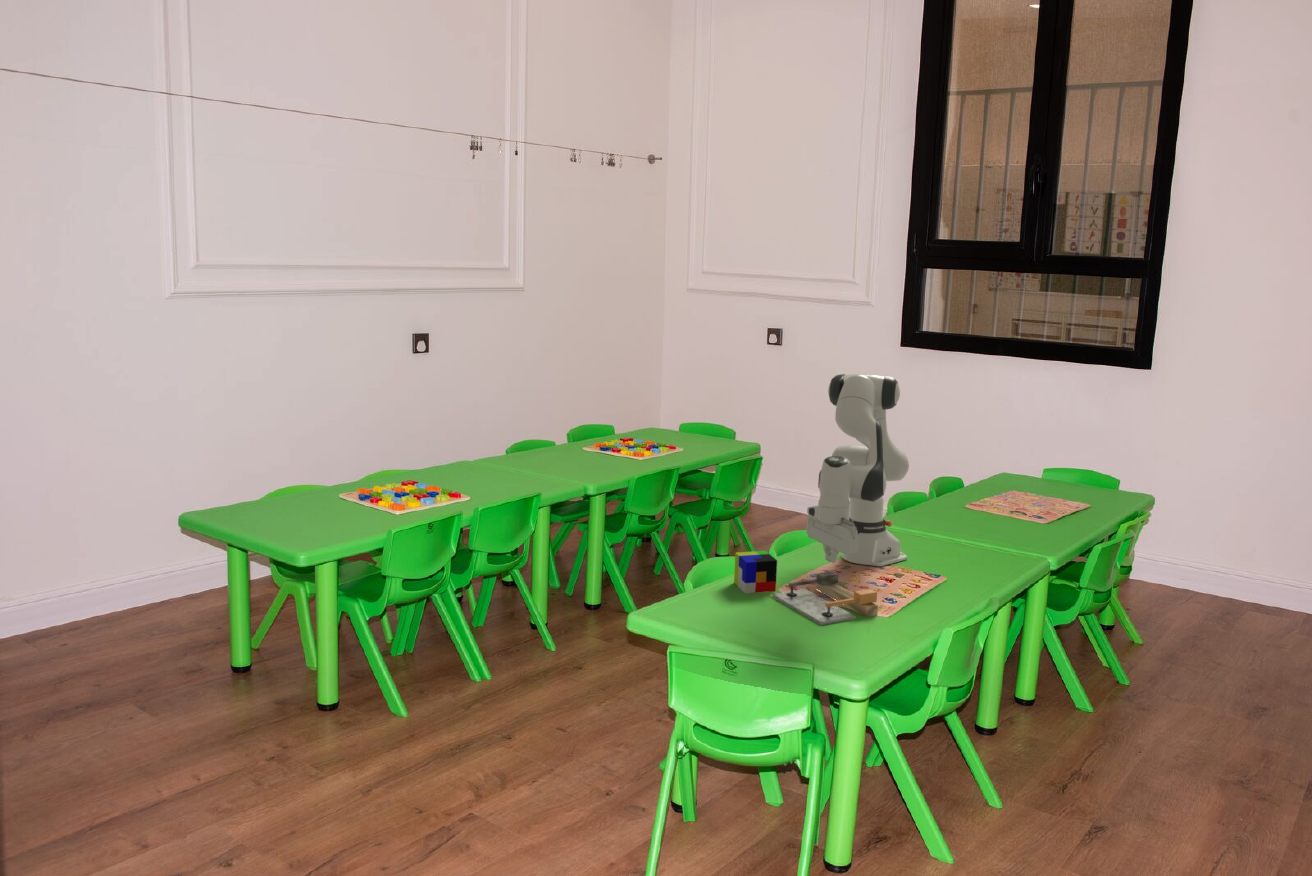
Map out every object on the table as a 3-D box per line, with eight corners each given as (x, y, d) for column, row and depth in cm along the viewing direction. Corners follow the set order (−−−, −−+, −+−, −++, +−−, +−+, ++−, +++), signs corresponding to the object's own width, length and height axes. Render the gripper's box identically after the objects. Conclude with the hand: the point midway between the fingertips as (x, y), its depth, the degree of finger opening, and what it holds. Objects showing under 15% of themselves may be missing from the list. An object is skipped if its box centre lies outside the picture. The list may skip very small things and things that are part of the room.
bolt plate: (805, 591, 322) (805, 588, 321) (855, 619, 300) (855, 615, 300) (772, 597, 316) (772, 593, 316) (821, 625, 295) (821, 621, 294)
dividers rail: (828, 588, 326) (829, 569, 325) (880, 614, 304) (881, 595, 303) (783, 595, 318) (784, 576, 317) (832, 623, 296) (833, 603, 295)
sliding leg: (869, 604, 308) (870, 588, 307) (876, 607, 305) (877, 592, 304) (822, 612, 300) (823, 596, 299) (828, 615, 298) (829, 600, 297)
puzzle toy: (745, 593, 319) (746, 562, 317) (734, 583, 328) (735, 552, 326) (775, 591, 322) (777, 560, 320) (763, 581, 331) (765, 550, 329)
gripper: (865, 522, 287) (862, 570, 289) (821, 504, 304) (818, 550, 307) (847, 524, 284) (843, 573, 286) (803, 506, 302) (801, 552, 304)
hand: (830, 561), depth 297 cm, fingers closed
